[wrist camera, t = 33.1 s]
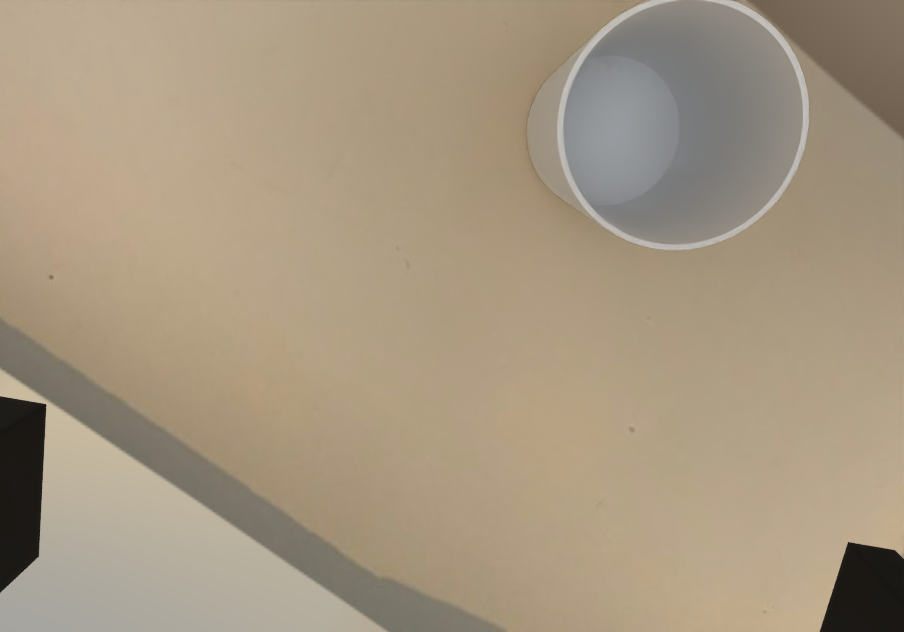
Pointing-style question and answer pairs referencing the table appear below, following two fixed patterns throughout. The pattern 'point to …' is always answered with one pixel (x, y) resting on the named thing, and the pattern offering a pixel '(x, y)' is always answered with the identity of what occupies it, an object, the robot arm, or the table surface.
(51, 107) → the table surface
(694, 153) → the cup
